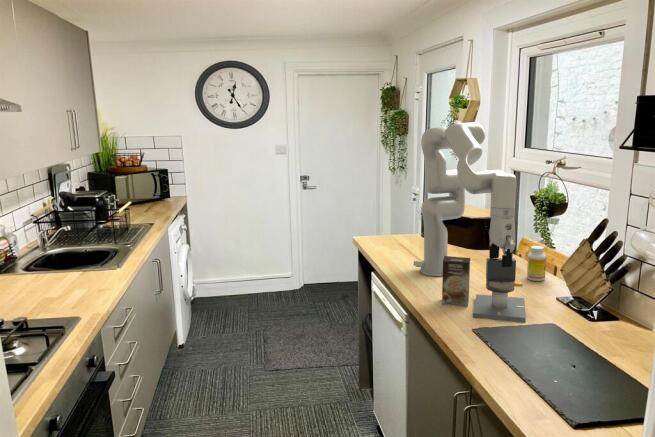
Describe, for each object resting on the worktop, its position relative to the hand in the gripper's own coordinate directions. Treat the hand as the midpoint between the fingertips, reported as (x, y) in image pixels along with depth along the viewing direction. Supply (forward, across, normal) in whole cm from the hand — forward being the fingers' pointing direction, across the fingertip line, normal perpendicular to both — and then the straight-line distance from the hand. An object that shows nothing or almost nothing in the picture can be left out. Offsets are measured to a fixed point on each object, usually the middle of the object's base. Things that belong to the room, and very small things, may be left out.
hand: (500, 262), depth 171 cm
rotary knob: (+9, -1, -1) cm, 9 cm away
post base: (+16, -1, 0) cm, 17 cm away
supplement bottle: (+17, +26, -27) cm, 42 cm away
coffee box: (+17, +8, +12) cm, 22 cm away
